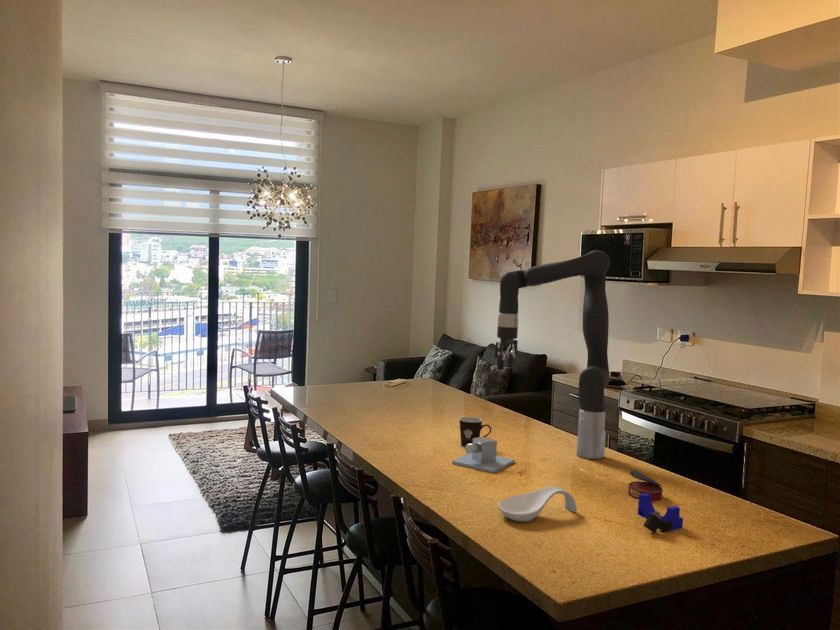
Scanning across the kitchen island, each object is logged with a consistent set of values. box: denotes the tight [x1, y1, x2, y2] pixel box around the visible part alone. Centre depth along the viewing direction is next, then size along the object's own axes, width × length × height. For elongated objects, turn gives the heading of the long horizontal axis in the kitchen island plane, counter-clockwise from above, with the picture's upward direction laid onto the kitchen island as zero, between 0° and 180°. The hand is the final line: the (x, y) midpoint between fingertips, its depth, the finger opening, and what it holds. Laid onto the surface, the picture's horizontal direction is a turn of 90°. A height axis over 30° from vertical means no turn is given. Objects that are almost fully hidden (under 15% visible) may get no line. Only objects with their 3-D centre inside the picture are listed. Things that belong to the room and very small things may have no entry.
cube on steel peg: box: [464, 436, 498, 463], centre depth 230 cm, size 10×6×7 cm, turn 117°
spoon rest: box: [497, 486, 578, 523], centre depth 185 cm, size 24×12×7 cm, turn 116°
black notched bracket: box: [642, 510, 673, 534], centre depth 176 cm, size 8×2×5 cm
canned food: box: [627, 469, 664, 502], centre depth 204 cm, size 11×10×10 cm
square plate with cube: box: [451, 453, 516, 474], centre depth 231 cm, size 16×16×6 cm
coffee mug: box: [458, 416, 492, 448], centre depth 251 cm, size 12×9×10 cm
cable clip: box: [637, 493, 684, 531], centre depth 184 cm, size 12×4×6 cm, turn 25°
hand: (505, 368), depth 249 cm, fingers open, 8 cm apart
